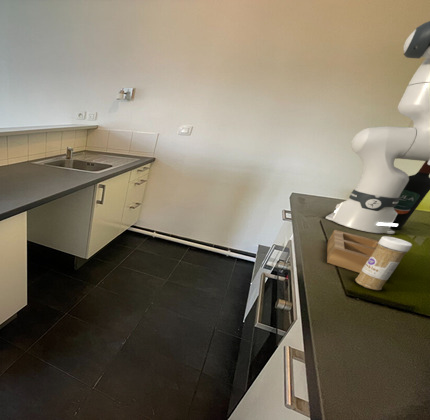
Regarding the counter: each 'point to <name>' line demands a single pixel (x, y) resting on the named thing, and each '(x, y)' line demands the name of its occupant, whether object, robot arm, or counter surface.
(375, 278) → the sprinkles bottle
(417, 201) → the wine bottle
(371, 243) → the hole block
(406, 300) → the counter surface
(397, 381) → the counter surface
